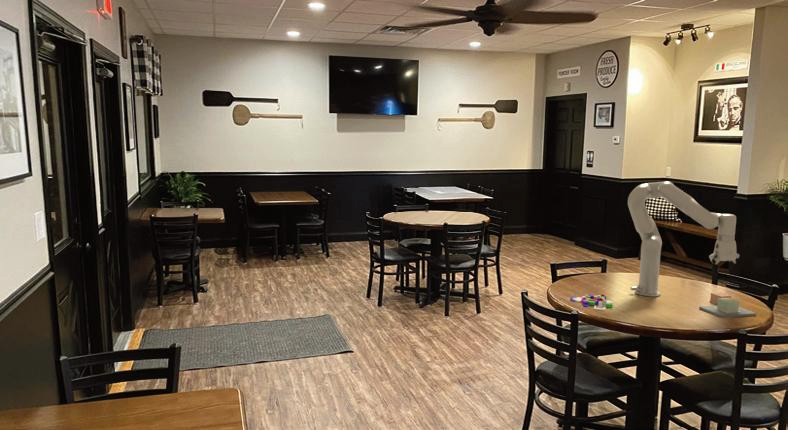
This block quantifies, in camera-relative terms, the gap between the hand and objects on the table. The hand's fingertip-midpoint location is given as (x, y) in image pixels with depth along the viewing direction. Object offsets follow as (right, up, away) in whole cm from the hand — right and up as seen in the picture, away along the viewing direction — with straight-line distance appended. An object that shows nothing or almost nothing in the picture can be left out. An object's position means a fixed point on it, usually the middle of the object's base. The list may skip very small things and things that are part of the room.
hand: (723, 271), depth 291 cm
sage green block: (-5, -18, -13) cm, 22 cm away
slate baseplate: (-5, -19, -13) cm, 23 cm away
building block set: (-68, -17, 0) cm, 70 cm away
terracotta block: (0, -17, +2) cm, 17 cm away
